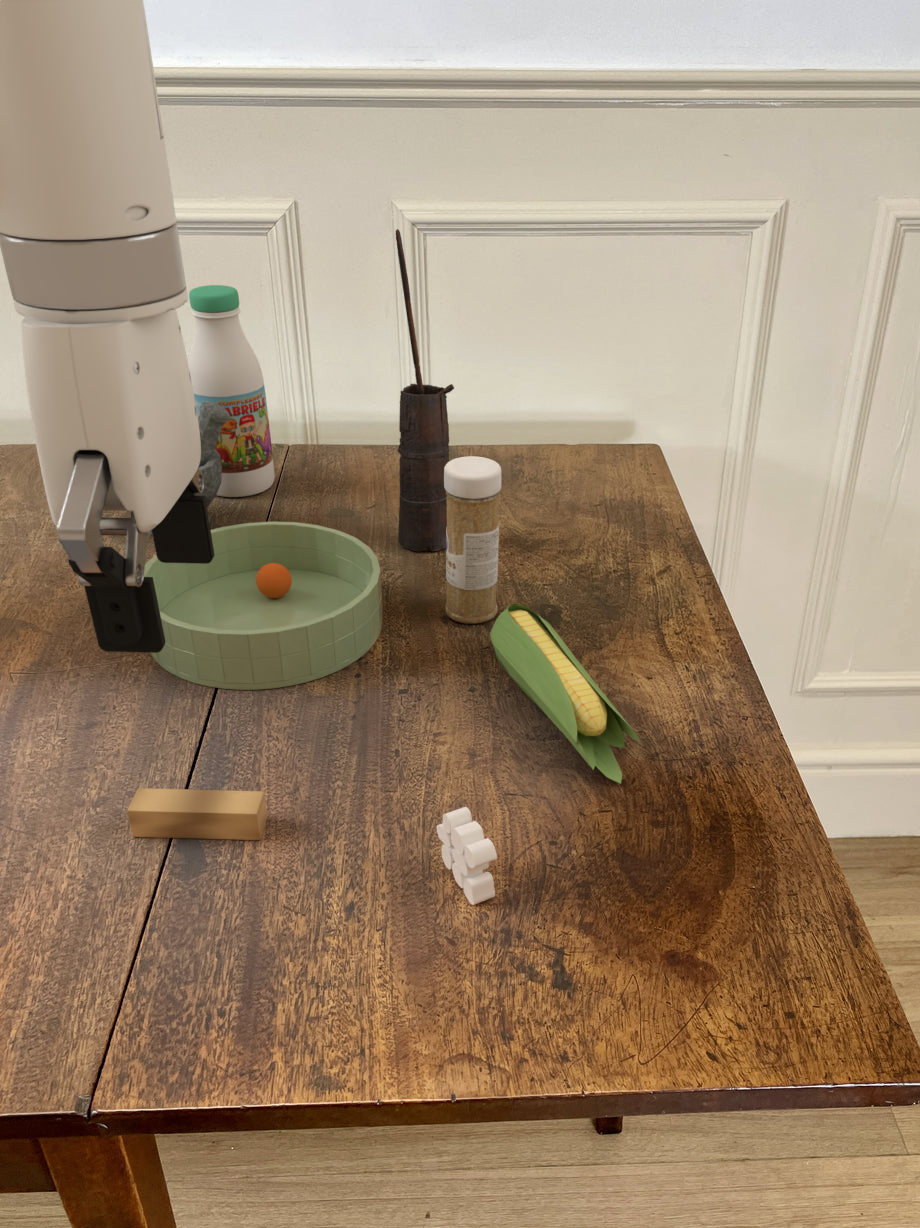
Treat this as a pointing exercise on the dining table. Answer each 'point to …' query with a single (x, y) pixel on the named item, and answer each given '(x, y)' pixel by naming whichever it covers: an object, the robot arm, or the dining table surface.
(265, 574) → the ball
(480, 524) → the spice jar
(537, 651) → the edible corn
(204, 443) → the mortar and pestle
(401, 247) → the butter churn
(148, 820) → the wooden block
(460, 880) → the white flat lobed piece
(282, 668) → the bowl
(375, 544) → the dining table surface
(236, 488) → the milk bottle
